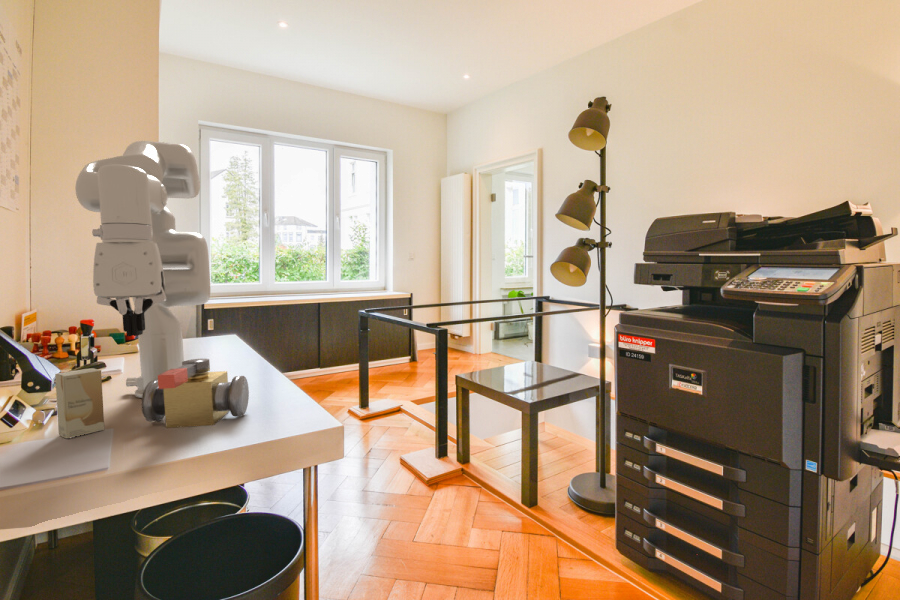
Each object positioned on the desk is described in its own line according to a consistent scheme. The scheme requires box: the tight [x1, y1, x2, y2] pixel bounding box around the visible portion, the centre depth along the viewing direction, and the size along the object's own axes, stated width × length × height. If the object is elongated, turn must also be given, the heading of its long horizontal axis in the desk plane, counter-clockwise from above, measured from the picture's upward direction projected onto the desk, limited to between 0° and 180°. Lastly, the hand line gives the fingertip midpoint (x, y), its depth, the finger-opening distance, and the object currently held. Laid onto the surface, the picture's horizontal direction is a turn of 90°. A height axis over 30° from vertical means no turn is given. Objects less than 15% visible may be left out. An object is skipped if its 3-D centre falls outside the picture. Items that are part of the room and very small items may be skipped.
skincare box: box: [54, 367, 105, 439], centre depth 87 cm, size 6×4×12 cm
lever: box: [158, 358, 211, 389], centre depth 89 cm, size 15×5×2 cm, turn 8°
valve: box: [141, 370, 250, 429], centre depth 94 cm, size 18×9×10 cm, turn 98°
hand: (135, 335), depth 83 cm, fingers closed
